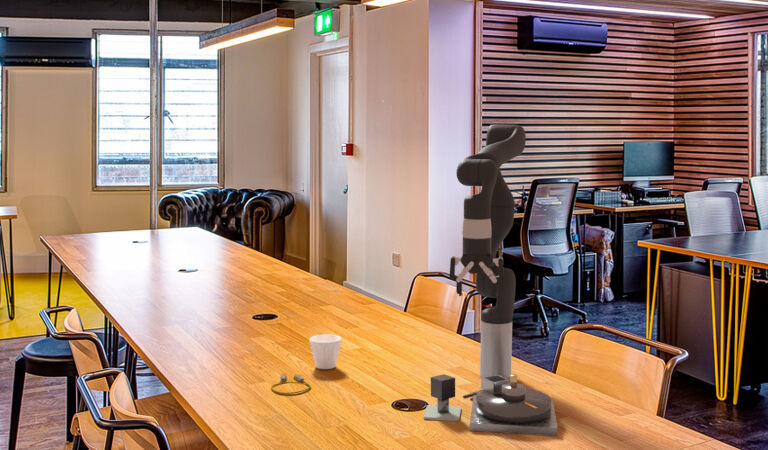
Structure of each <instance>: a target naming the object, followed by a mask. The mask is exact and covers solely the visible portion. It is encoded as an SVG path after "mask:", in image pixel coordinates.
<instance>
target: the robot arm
mask: <svg viewBox="0 0 768 450" xmlns="http://www.w3.org/2000/svg"><path fill="white" fill-rule="evenodd" d="M526 137H527V136H526V130H525V129H524V128H523V126H521V125H520V124H519V125H518V124H501V123H500V124H497V123H495V124H490V126H489V127H488V128H487V131H486V138H485V146H484V147H483V148H481V150H479V151H478V152H477V153H475V154H472V155H469V156H467V157H465V158H463V159H462V160H461V161H460V162H459V163H458V165H457V168H456V179H457V181H458V182H459V183H460V184H462V185H463V186H465V187H482V188H481V191H480V192H479V193H476V194H470V195H468V196H465V197H464V199H463V222H462V232H461V233H462V255H461V257H458V256H454V255H452V256H451V257H450V262H449V263H450V264H449V278H448V279H449V280H451V281H455V282H456V285H455V286H456V292H455V293H456V294H457V295H458V296H459V297H463V281H462V280H463V279H464V277H466V275H467V274H468V273H469V274H471V275H474V274H476V275H475V289H476V292H477V293H478V295H479V296H481V297H483V298H490V299H491V298H493V299H496V303H495V306H492V307H488V308H484V309H483V310H481V312H480V353H479V354H480V360H479V362H480V363H479V364H480V365H479V367H480V368H479V375H480V378H481V377H486V376H492V375H497V374H498V375H500V376H502V377H505V378H507V379H509V380H510V375H511V374H512V359H513V358H512V351H513V350H512V349H513V316H514V312H515V298H516V286H517V285H516V284H517V282H516V280H517V279H516V275H515V274H516V273H515V272H514V271H513V270H512V269H511V268H507V267H504V257H502V256H499V257H497V253H498V249H499V248H500V245H501V244H502V242H504V239H505V238H506V237H507V235H508V234H509V233H510V231H511V229H512V228H513V225H514V221H515V220H514V219H515V209H516V208H515V206H516V202H515V197H514V196H513V193H512V191H511V189H510V188H509V186H508V184H507V182H506V179H504V176H503V174H502V172H501V167H502V166H503V165H504V164H506V163H507V162H509V161H511V160H512V159H514V158H516V157H519V156H520V155H522V153H524V150H525V148H526V141H527V139H526ZM459 263H461V264H462V266H463V269H462V270H461V272H459V274H458V275H457V274H455V273H456V266H458V265H459Z"/></svg>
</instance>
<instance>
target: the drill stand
mask: <svg viewBox="0 0 768 450" xmlns="http://www.w3.org/2000/svg"><path fill="white" fill-rule="evenodd" d="M472 397H473V400H472V404H471V413H470V420H469V431H470V432H481V433H482V432H483V433H484V432H485V433H499V434H500V433H503V434H517V435H518V434H519V435H530V436H531V435H533V436H534V435H536V436H551V437H558V429H559V428H558V423H557V422H558V421H557V417H556V411H555V405H554V399H553V398H551V414H550V416H549V417H547V418H545V419H543V420H540V421H536V422H529V423H510V422H502V421H497V420H493V419H489V418H487V417H484V416H482V415H481V414H479V413H478V412H477V410H476V395H473V396H472Z"/></svg>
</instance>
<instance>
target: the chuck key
mask: <svg viewBox="0 0 768 450" xmlns="http://www.w3.org/2000/svg"><path fill="white" fill-rule="evenodd" d="M430 397H433V398H435V399H436V400H437V402H436V403H437V405H436V406H437V410H438V413H448V412H449V406H450V399H452V398H456V377H455V376H454V377H453V376H451V375H447V374H437V375H435V376H430Z"/></svg>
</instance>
